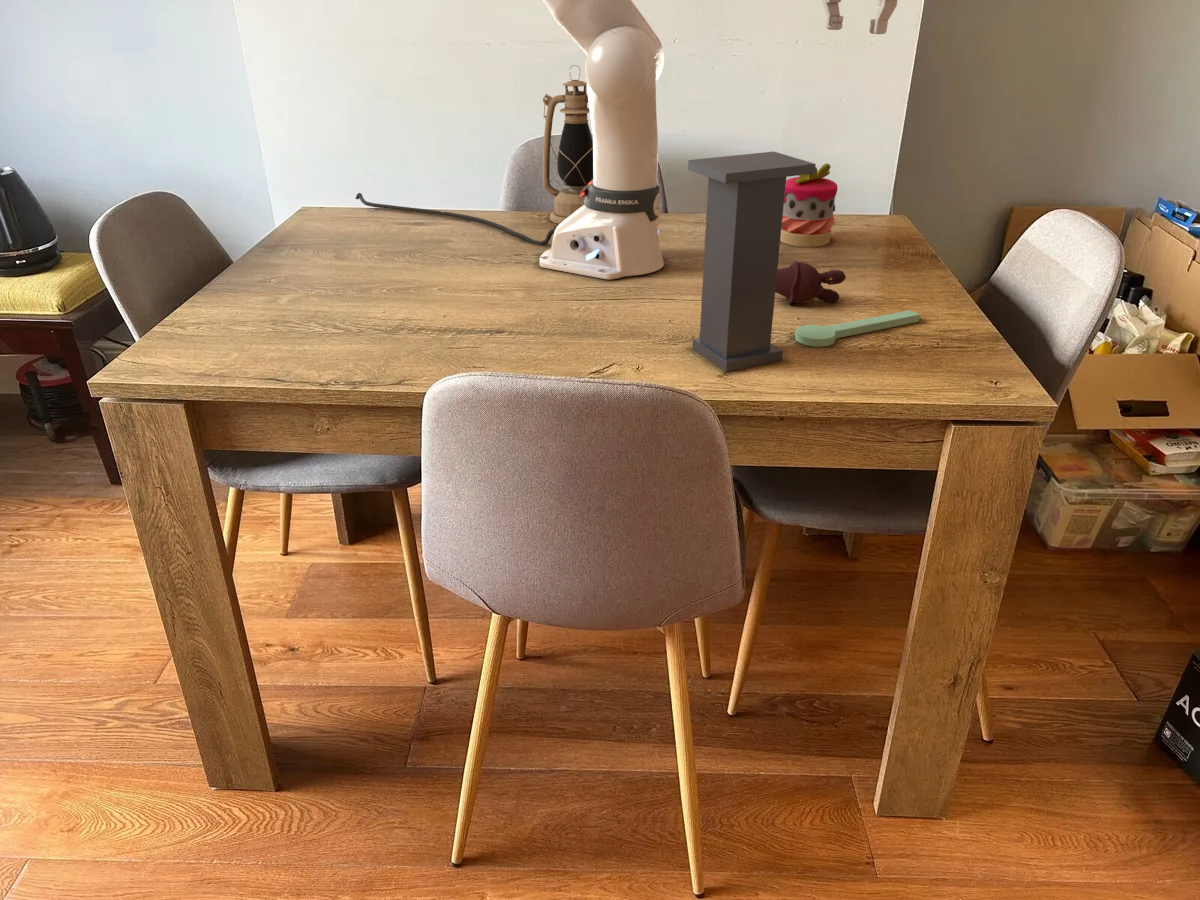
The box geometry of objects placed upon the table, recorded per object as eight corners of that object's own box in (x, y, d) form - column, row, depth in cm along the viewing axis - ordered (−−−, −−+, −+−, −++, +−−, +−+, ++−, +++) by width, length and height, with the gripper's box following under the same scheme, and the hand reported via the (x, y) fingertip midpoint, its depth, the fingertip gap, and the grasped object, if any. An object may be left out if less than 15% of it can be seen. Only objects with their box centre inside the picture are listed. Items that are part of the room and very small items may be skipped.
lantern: (614, 211, 192) (614, 62, 178) (609, 225, 182) (609, 68, 168) (548, 210, 194) (543, 61, 179) (539, 224, 183) (533, 68, 169)
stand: (757, 336, 129) (773, 151, 116) (794, 358, 121) (815, 163, 109) (679, 351, 124) (687, 160, 111) (713, 374, 117) (726, 173, 104)
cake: (765, 238, 174) (772, 159, 166) (802, 229, 179) (810, 152, 172) (805, 250, 166) (815, 168, 159) (842, 240, 172) (853, 161, 164)
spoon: (901, 313, 136) (902, 306, 136) (927, 325, 132) (928, 318, 131) (787, 336, 129) (788, 328, 128) (810, 349, 124) (811, 341, 124)
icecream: (751, 270, 135) (850, 282, 134) (751, 245, 140) (846, 256, 139) (744, 308, 140) (839, 319, 139) (744, 282, 145) (835, 293, 144)
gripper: (802, -81, 124) (792, 28, 131) (903, -87, 108) (885, 37, 115) (838, -80, 127) (826, 26, 134) (942, -86, 111) (923, 35, 117)
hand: (855, 31), depth 124 cm, fingers open, 8 cm apart
